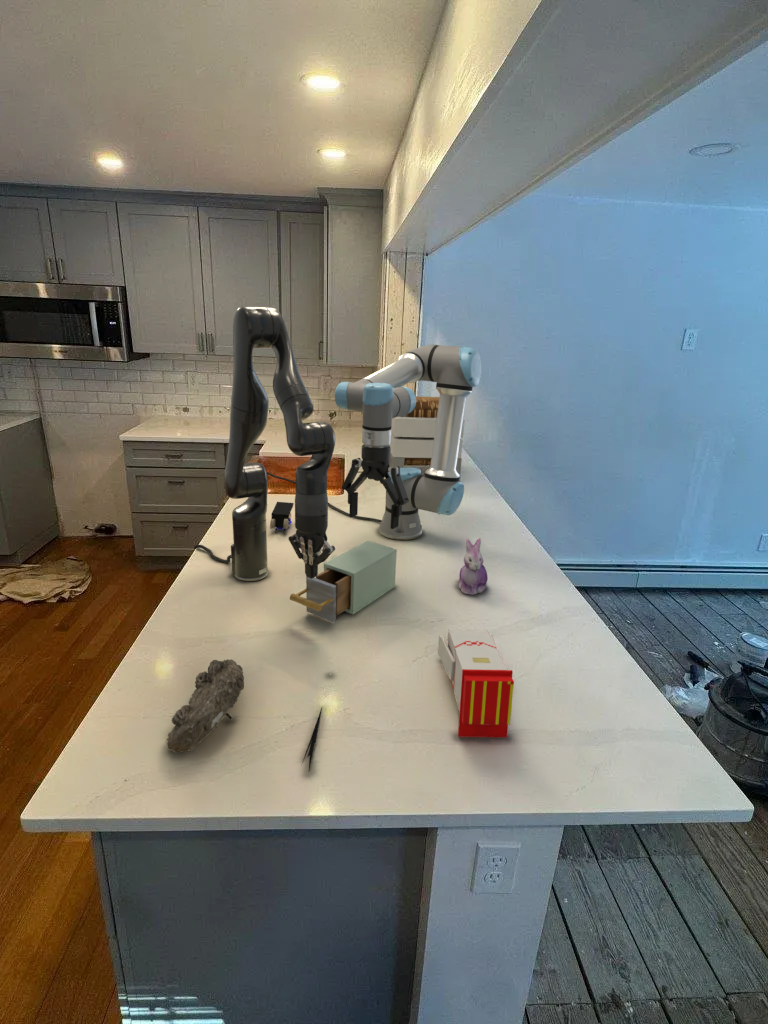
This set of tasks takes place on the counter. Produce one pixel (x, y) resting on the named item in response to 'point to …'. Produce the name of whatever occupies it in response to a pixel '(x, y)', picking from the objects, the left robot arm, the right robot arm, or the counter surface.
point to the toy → (478, 682)
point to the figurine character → (281, 516)
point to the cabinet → (366, 572)
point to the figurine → (473, 570)
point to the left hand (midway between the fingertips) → (311, 576)
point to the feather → (313, 740)
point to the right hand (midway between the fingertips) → (373, 521)
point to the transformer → (417, 435)
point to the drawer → (326, 594)
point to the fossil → (206, 705)
